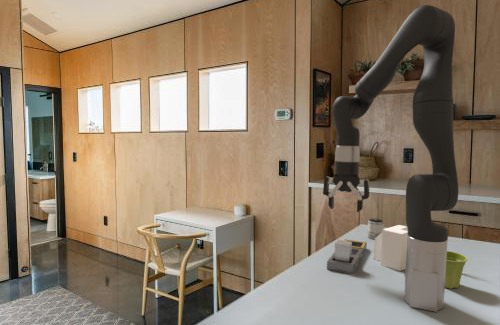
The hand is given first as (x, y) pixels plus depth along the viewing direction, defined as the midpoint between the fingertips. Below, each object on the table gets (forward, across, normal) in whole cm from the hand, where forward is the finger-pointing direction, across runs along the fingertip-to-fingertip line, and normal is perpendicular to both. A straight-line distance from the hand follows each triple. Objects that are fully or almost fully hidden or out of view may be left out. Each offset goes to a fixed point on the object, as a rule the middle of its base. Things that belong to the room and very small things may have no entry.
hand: (345, 210), depth 117 cm
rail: (+19, 0, +9) cm, 21 cm away
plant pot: (+19, +30, 0) cm, 35 cm away
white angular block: (+19, +14, +12) cm, 26 cm away
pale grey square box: (+19, 0, 0) cm, 19 cm away
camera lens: (+19, +5, +40) cm, 45 cm away
